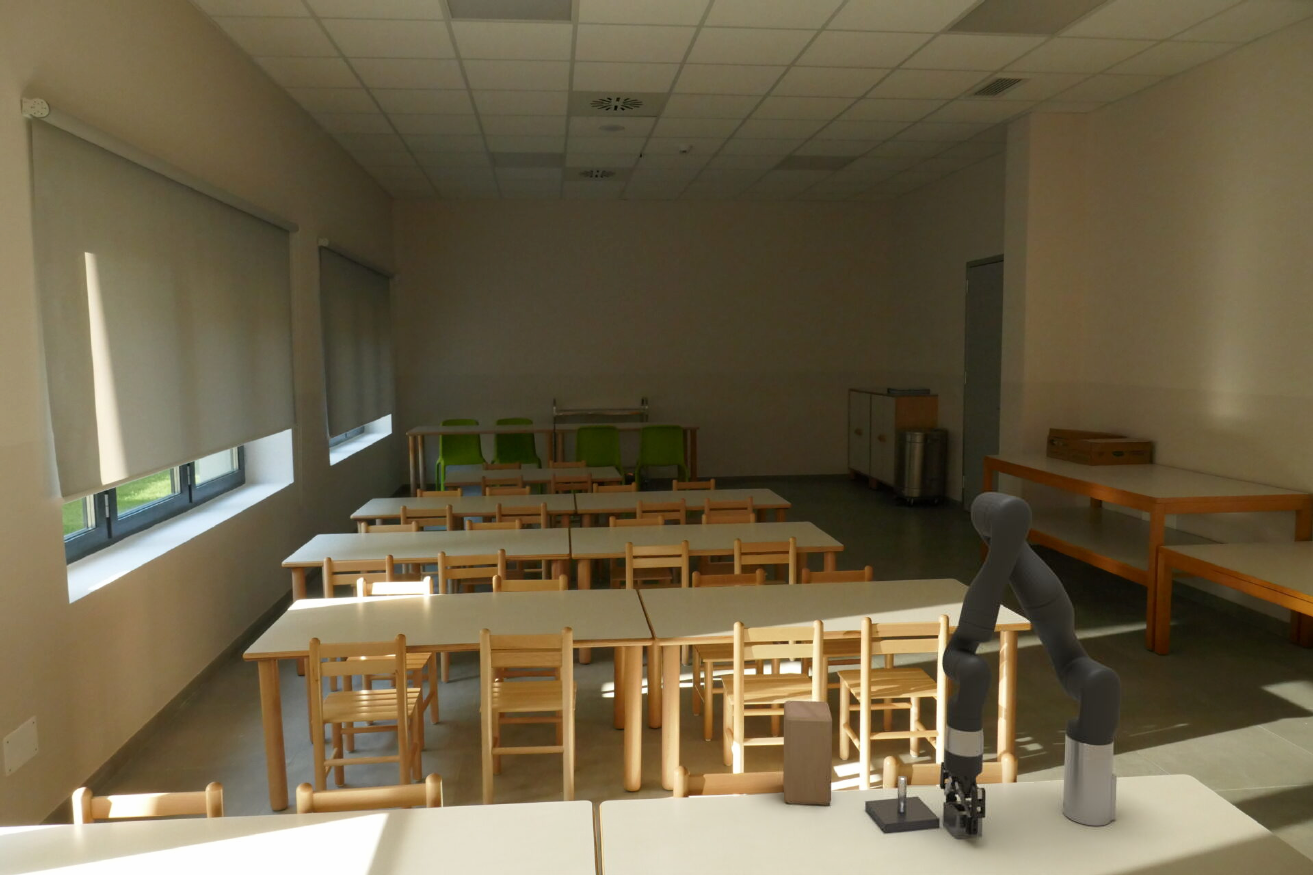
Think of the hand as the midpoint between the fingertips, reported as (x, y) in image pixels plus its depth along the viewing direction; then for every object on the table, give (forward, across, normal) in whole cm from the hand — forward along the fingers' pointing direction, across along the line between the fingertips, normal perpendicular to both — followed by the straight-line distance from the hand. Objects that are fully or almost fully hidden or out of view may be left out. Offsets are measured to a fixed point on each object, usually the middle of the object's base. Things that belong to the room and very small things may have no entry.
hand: (960, 823), depth 192 cm
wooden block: (+2, +21, +26) cm, 33 cm away
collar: (+2, 0, 0) cm, 2 cm away
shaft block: (+2, +7, +10) cm, 12 cm away
